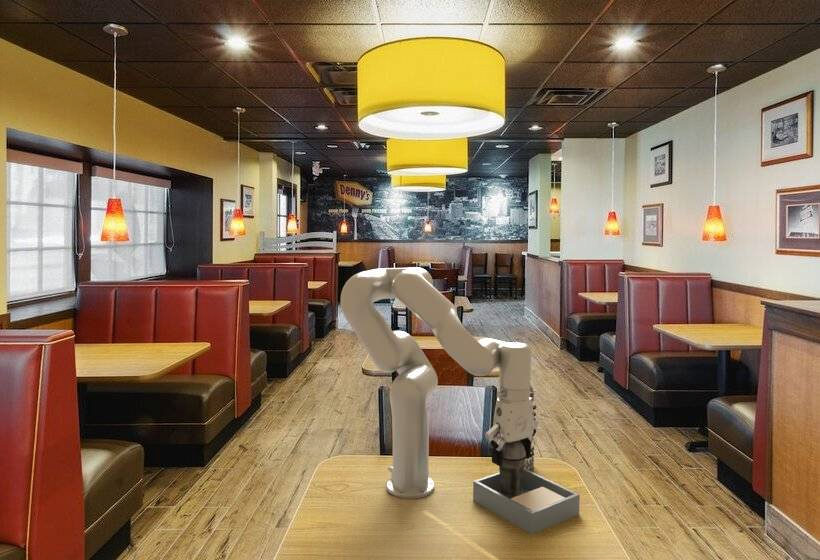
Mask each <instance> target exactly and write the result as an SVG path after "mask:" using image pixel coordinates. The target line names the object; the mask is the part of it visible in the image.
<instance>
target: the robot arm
mask: <svg viewBox="0 0 820 560" xmlns="http://www.w3.org/2000/svg"><path fill="white" fill-rule="evenodd" d="M432 277H433V276H432V275H431V274H430V273H429V271H427V270H426V269H424V268H423V267H420V266H418V267H415V266H413V267H396V268H395V267H390V268H389V267H385V268H374V269H369V270H364V271H360V272H357V273H355V274H354V275H352V276H351V277H350V278H349V279H348V280H347V281H345V284H344V286H343V288H342V290H341V292H340V293H341V294H340V308H341V311H342V314H343V316H344V318H345V320H346V321H347V322H348V324H349V325H350V327H351V328H352V330H353V332H354V333H355V335H356V336H357V338H358V340H359V341H360V343H361V345H362V346H363V348H364V350H365V351H366V352H367V354H368V356H369V357H370V359H371V360H372V362H373V364H374V365H375V366H376V368H377V369H378V370H379V371H381V372H383V373H386V374H387V373H388V374H389V373H394V372H396V373H398V375H397V377H395V378H394V380H393V381H392V384H391V386H390V389H389V402H390V409H391V421H392V424H391V425H392V427H391V428H392V430H391V431H392V464H391V465H389V466H388V468H387V470H388V471H389V472H390V473H391V478H390V479H389V480H388V481H387V483H386V490H387V492H389V494H391V495H392V496H395V497H398V498H401V499H410V500H411V499H413V500H414V499H420V498H424V497H427V496H429V495H430V494H432V493H433V492H434V491H435V483H434V481H433V480H432V478H430V477H429V467H430V465H429V464H430V463H429V456H430V454H429V447H430V446H429V445H430V441H429V439H430V438H429V437H430V435H429V430H430V429H429V427H430V426H429V425H430V423H429V413H428V406H427V404H428V403H427V402H428V399H429V398H430V397H431V396H432V395H433V394H434V393H435V392H436V390H437V387H438V382H439V381H438V376H437V372H436V370H435V368H434V367H433V364H431V363H430V361H429V359H428V357H427V356H426V354H425V353H424V352H423V349H422V348H421V346H420V345H419V343H418V342H417V340H416V339H415V338H414V337H413V336H412V335H411V334H409V333H407V332H406V331H402V330H392V328H391V327H390V326H389V324H388V321H386V318H385V317H384V316H383V315H382V313H381V312H379V310H378V309H376V308H375V306H374V303H375V302H378V301H380V300H389V299H391V300H392V299H393V300H394V299H397V300H398V301H400V303H402V305H404V306H405V307H406V308H407V309H408V310H409V311H410V312H412V313H413V314H414V315H415V316H416V317H417V318H418V319H419V320H420V321H421V322H422V323H423V324H425V325H426V327H427V328H429V329H430V330H431V332H432V334H433V335H434V337H435V338H436V340H437V341H438V343H439V344H440V345H441V347H442V348H443V350H444V351H445V352H446V353H447V355H448V356H450V357H451V358H452V359H453V361H455V362H456V363H457V364H458V365H459V366H461V368H463V369H464V370H465V371H467V372H468V373H470V374H471V375H473V376H475V377H484V376H486V375H488V374H490V373H491V372H492V371H493V370H494V369H495V368H498V369H499V373H498V374H499V375H498V376H499V377H498V378H499V380H498V391H497V392H496V396H497V399H496V403H495V408H494V415H493V422H492V423H493V426H492V427H491V428H490V429H489V430H488V431H486V432H485V434H484V437H485V439H486V441H487V442H486V443H487V444H488V446H489V447H490V448H491V462H492V463H493V464H494V465H497V466H498V467H499V466H502V464H503V450H501V449H502V447H503V445H504V443H505V442H506V443H511V442H515V441H518V440H520V442H521V443H522V444H523V446H524V448H525V452H526V457H531V442H532V441H533V442H534V436H535V435H536V433H537V428H538V426H539V425H540V423H539V422H540V421H537V419H536V420H534V418H535V416H534V413H533V411H534V410H533V404H532V399H531V397H530V385H531V373H532V370H531V369H532V348H531V347H530V345H529V344H527V343H523V342H518V341H517V342H515V341H512V342H509V341H508V342H507V341H502V340H498V339H494V338H489V337H484V338H480V339H478V340H477V339H476V338H475V337H474V336H473V335H472V334H471V333H470V332H469V331H468V330H467V329H466V328H465V326H464V325H463V323H462V322H461V320H460V318H459V315H458V311H457V308H456V306H455V304H454V303H452V302H451V300H450V299H448V298H447V297H446V296H445V295H443V293H441V292H440V291H439V290H438V289H437V288H436V287H435V286H434V281H433V278H432ZM498 441H499V442H498Z"/></svg>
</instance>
